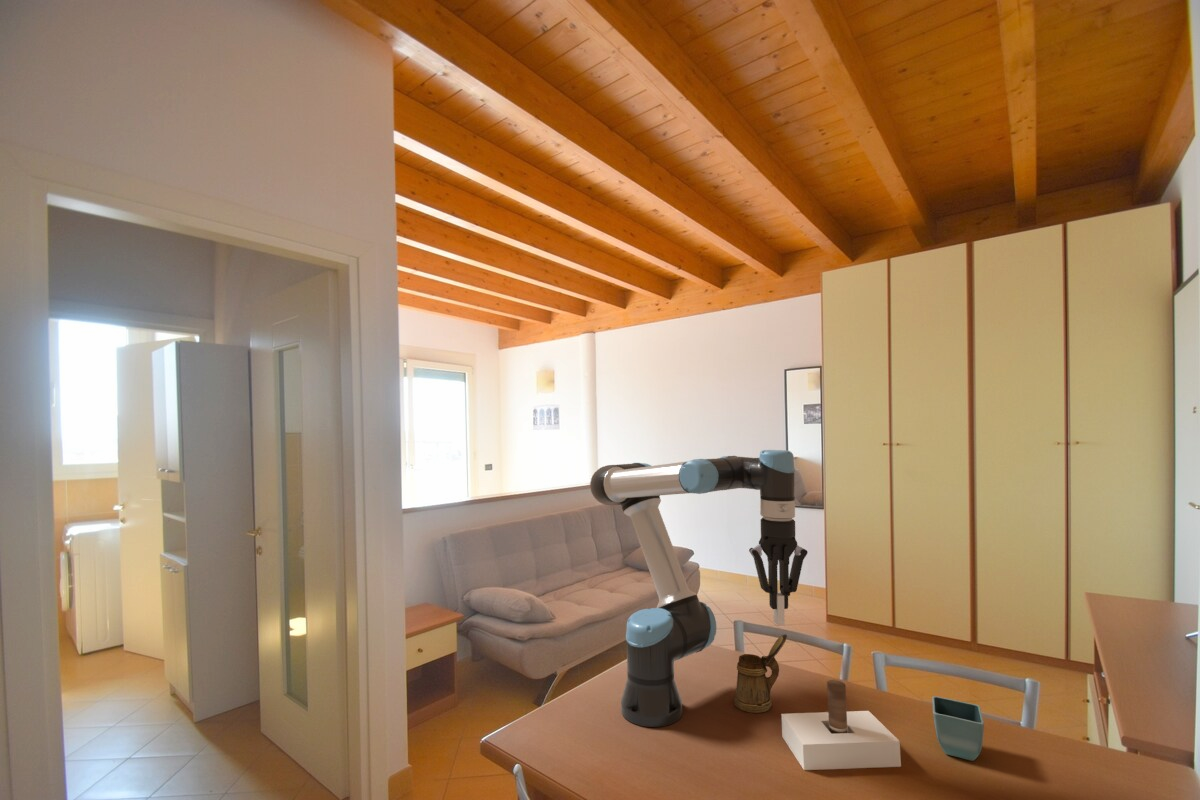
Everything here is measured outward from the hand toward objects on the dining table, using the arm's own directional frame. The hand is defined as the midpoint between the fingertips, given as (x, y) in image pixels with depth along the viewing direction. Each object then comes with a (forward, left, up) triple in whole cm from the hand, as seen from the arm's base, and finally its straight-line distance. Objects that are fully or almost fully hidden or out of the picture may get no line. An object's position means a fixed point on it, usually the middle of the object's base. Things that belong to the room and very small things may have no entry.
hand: (779, 623), depth 120 cm
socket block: (+5, +10, -26) cm, 28 cm away
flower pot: (+7, +35, -26) cm, 44 cm away
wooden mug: (-15, 0, -26) cm, 30 cm away
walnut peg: (+5, +10, -25) cm, 28 cm away
